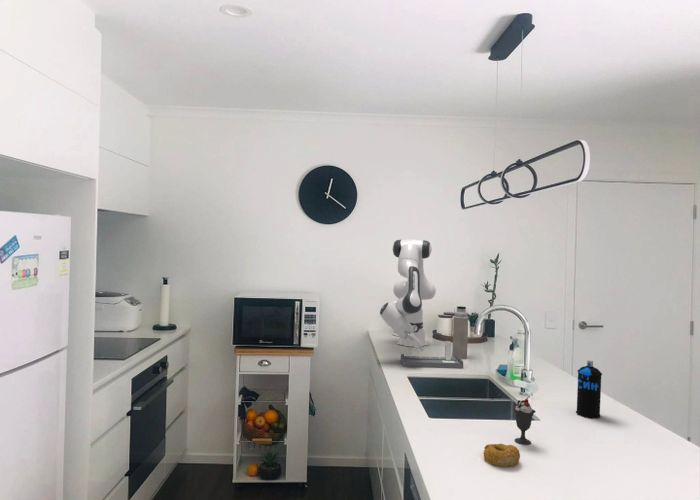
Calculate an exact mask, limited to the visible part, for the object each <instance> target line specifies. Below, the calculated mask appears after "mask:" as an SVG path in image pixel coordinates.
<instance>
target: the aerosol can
mask: <svg viewBox="0 0 700 500" xmlns="http://www.w3.org/2000/svg"><path fill="white" fill-rule="evenodd" d="M602 375H603V373H602V371H600V370H599V369H598V368H597V367H595V366H594V361H593V360H591V359H588V360H587V361H586V366H585V365H584V366H582V367H580V368H579V369H577V391H576V392H577V396H576V411H575V414H576V413H577V414H576V415H578V416H579V415H581V416H580V417H582V416H584V417H583V418H586V417H588V418H587V419H593V418H596V419H600V418H601V395H602V394H601V391H602Z"/></svg>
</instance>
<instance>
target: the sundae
mask: <svg viewBox="0 0 700 500" xmlns="http://www.w3.org/2000/svg"><path fill="white" fill-rule="evenodd" d="M529 398H531V396H530V395H528V396H527V397H526V399H523V400H520V399H518V400H517V402H516V403H517V404H516V406H513V407H512V411H514V413H515V415H514V416H515V421H516V423H515V424H516V426H517V428H518V429H519V430H520V432H521V433H520V434H521V435H520V437H516V438H514V441H515V443H517V444H519V445H523V446H530V445H531V444H532V440H530V439H528V438H526V431H528V430H529V429H530V428H531V427H532V426H531V425H532V422H533V421H532V420H533V416H534V414H536V410H535V409H533V408H532V406H531V404H530V403H529V402H530V401H529Z"/></svg>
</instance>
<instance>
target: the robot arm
mask: <svg viewBox="0 0 700 500" xmlns="http://www.w3.org/2000/svg"><path fill="white" fill-rule="evenodd" d="M432 249H433V248H432V244H431V243H430V242H429V240H425V239H423V240H420V239H413V238H412V239H397V240H396V239H395V241H393V245H392V253H393V255H394V257H396V258H398V262H397V272H398V273H399V275H400V276H402V277H403V278H406V279H407V280H401V281H397V282H395V283H394V285H393V294H394V296H395V297H396V298H397V299H396V300H394V301H392V302H391V301H390V302H386V303H385V304H383V306H381V308H380V310H379V315H380V318H382V320H383V321H384V323H385V324H387V326H389V327H390V328H391V329H392V330H393V332H394V333H395V334H396V335H397V336H398V337H399V338H398V340H397V343H396V344H397V345H401V346H405V347H414V348H415V349H416V350H417V349H419V350H420V351H421V352H423V351H425V348H424V347H426V346H429V344H428V343H427V342H426V331H425V330H424V322H423V315H424V314H423V311H424V310H423V309H422V306H423V301H426V300H432V299H434V297H435V295H436V290H437V289H436V287H435V285H434V283H432V282H431V281H429V279H428V278H427V277H426V275H425V273H424V269H425V268H424V260H425V259H428V258H429V257H430V256H431V253H432Z"/></svg>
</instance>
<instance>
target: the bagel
mask: <svg viewBox="0 0 700 500" xmlns="http://www.w3.org/2000/svg"><path fill="white" fill-rule="evenodd" d="M483 458H484V461H485V462H486V463H488V464H490V465H492V466H497V467H502V468H514V467H516V466H517V465H518V464H519V463H520V458H521V453H520V450H519V449H518V447H517V446H515V445H514V444H508V445H507V444H505V443H493V444H490V443H489V444H486V445H485V446H484V450H483Z"/></svg>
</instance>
